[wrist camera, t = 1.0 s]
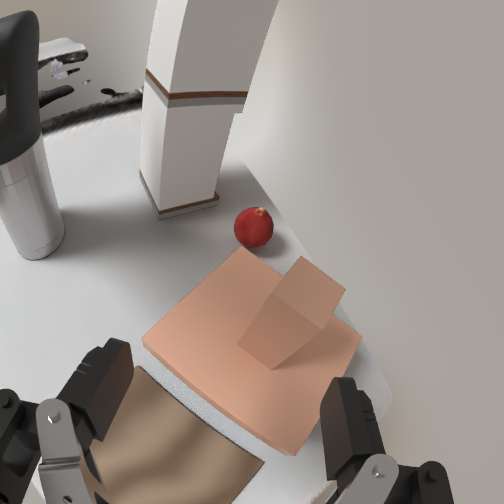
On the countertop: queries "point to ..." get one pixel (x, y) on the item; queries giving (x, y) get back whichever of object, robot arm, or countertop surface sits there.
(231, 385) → the lid
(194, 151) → the white tall block
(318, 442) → the countertop surface
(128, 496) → the board
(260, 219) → the pomegranate
